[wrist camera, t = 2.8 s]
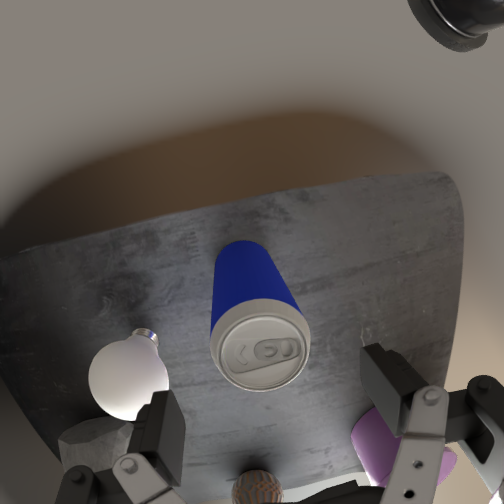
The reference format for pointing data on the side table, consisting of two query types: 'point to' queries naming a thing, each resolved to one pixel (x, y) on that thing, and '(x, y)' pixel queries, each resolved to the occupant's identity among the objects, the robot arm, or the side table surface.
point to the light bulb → (128, 374)
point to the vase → (257, 488)
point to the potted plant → (95, 443)
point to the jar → (385, 449)
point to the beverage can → (255, 321)
